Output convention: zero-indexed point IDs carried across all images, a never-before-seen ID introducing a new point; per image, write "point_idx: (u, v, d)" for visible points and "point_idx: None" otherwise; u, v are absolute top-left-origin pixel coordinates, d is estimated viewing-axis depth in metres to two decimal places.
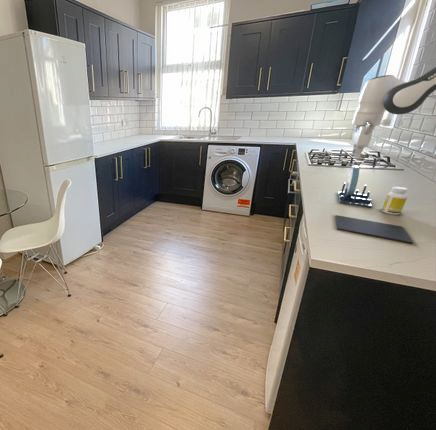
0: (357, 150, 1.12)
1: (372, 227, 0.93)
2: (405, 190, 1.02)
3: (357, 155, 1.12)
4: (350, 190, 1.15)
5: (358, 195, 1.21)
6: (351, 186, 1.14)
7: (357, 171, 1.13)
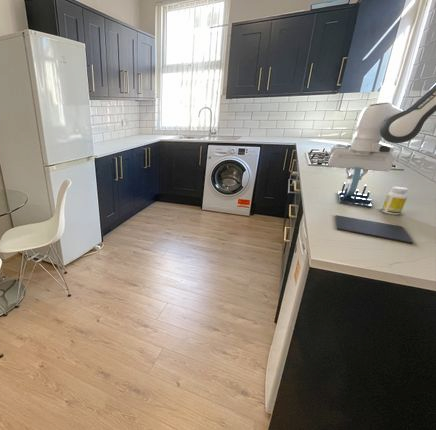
0: (346, 171, 1.19)
1: (372, 227, 0.93)
2: (405, 190, 1.02)
3: (346, 176, 1.19)
4: (350, 190, 1.15)
5: (358, 195, 1.21)
6: (352, 186, 1.14)
7: (359, 171, 1.13)
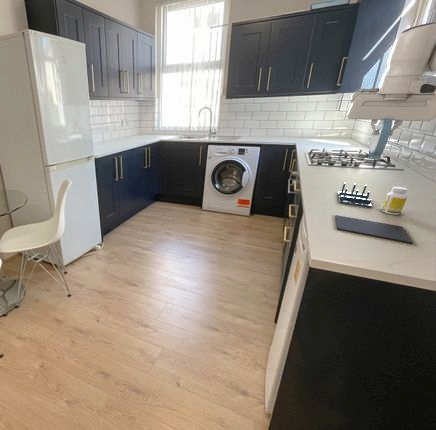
0: (371, 125, 0.90)
1: (372, 227, 0.93)
2: (405, 190, 1.02)
3: None
4: (378, 148, 0.86)
5: (358, 195, 1.21)
6: (380, 143, 0.85)
7: (389, 122, 0.84)
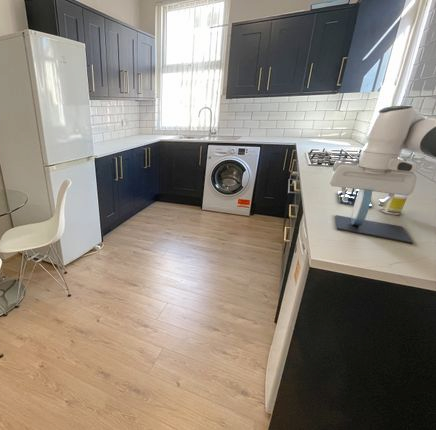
0: None
1: (372, 227, 0.93)
2: None
3: (342, 198, 0.95)
4: (358, 218, 0.89)
5: None
6: (360, 213, 0.88)
7: (369, 194, 0.88)
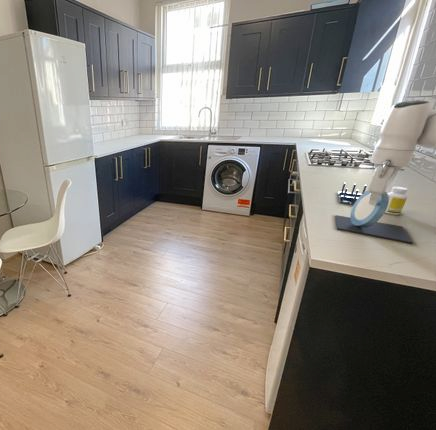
0: (372, 196, 0.85)
1: (372, 227, 0.93)
2: (405, 190, 1.02)
3: (372, 202, 0.86)
4: (369, 222, 0.88)
5: (358, 195, 1.21)
6: (373, 218, 0.86)
7: (386, 200, 0.85)
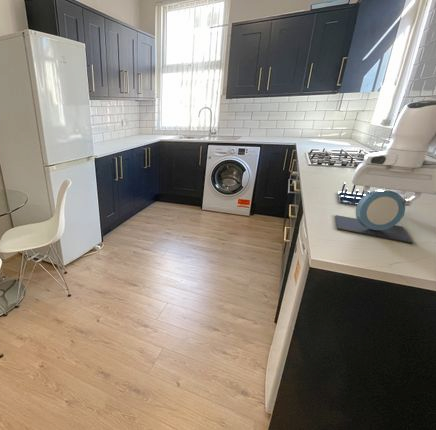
0: None
1: None
2: None
3: (410, 203, 0.86)
4: None
5: (358, 195, 1.21)
6: None
7: None
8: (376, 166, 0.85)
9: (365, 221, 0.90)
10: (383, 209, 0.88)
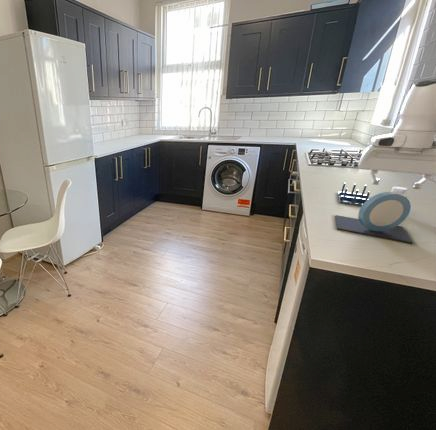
0: None
1: None
2: (405, 190, 1.02)
3: None
4: None
5: (358, 195, 1.21)
6: None
7: None
8: (384, 148, 0.83)
9: (366, 223, 0.89)
10: (387, 212, 0.87)
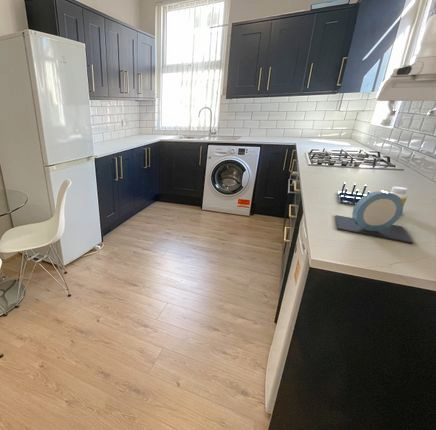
0: None
1: None
2: (405, 190, 1.02)
3: (434, 113, 0.89)
4: None
5: (358, 195, 1.21)
6: None
7: None
8: (402, 78, 0.89)
9: (363, 225, 0.90)
10: (380, 211, 0.87)
